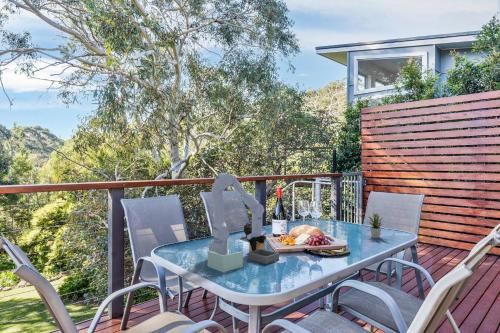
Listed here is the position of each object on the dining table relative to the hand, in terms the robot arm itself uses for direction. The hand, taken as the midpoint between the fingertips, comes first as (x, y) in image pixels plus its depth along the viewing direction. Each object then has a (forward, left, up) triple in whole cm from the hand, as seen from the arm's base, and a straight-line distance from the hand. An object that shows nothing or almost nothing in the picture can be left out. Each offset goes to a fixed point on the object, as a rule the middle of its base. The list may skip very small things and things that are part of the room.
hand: (257, 249), depth 193 cm
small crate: (0, 0, -1) cm, 1 cm away
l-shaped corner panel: (-29, -4, -2) cm, 29 cm away
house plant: (+80, -33, -2) cm, 87 cm away
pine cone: (+25, +23, -2) cm, 34 cm away
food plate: (+28, -27, -2) cm, 39 cm away
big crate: (-8, -11, -1) cm, 14 cm away
